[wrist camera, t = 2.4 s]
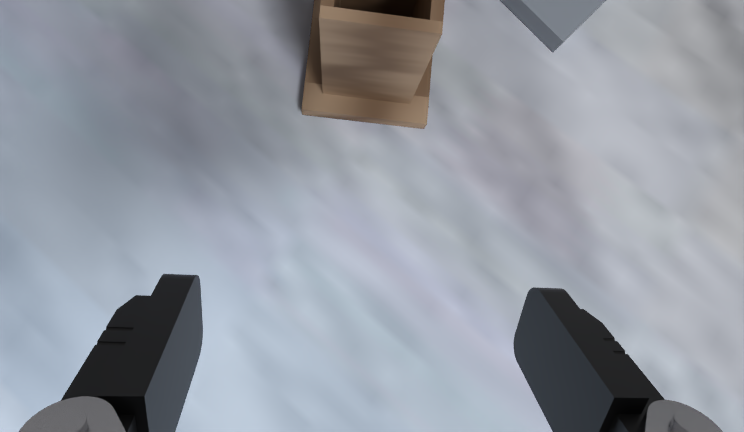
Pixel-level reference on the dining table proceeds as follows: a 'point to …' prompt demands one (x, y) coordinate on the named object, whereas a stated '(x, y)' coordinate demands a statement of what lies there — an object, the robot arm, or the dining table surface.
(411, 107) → the flanged sleeve
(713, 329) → the dining table surface
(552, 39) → the post plate
